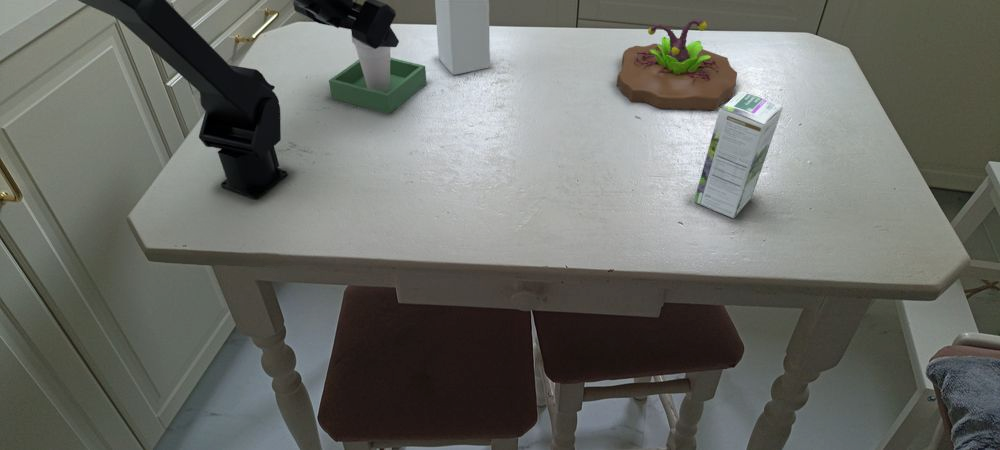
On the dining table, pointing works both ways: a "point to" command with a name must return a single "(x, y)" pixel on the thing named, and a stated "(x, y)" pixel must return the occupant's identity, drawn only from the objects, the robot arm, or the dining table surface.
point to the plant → (676, 73)
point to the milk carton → (463, 34)
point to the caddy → (355, 91)
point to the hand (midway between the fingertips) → (378, 35)
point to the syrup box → (737, 153)
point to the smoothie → (374, 65)
